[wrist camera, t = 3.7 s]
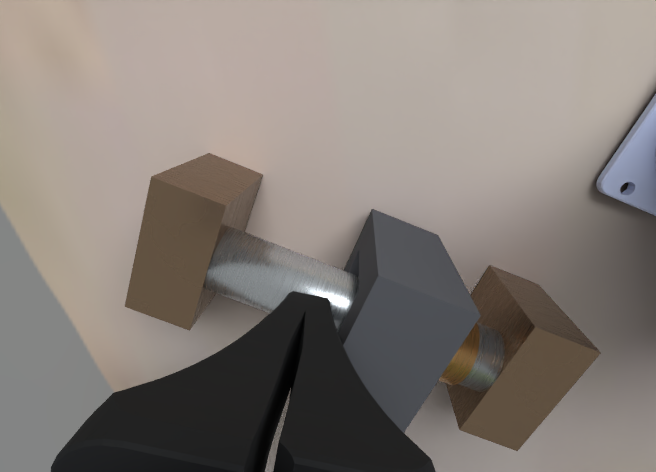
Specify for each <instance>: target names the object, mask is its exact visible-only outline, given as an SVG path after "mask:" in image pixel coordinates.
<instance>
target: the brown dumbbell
mask: <svg viewBox="0 0 656 472" xmlns="http://www.w3.org/2000/svg"><path fill="white" fill-rule="evenodd" d="M262 176H263V175H262V174H260V173H257V172H255V171H252V170H250V169H247V168H245V167H242V166H240V165H237V164H235V163H232V162H230V161H227V160H225V159H222V158H220V157H217V156H215V155H212V154H210V153H208V154H206V155H203V156H201V157H198V158H196V159H193V160H191V161H189V162H186V163H184V164H181V165H179V166H176V167H174V168H171V169H169V170H166V171H164V172H162V173H159V174H157V175H154V176H152V177H151V181H150V186H149V190H148V195H147V200H146V205H145V210H144V215H143V220H142V225H141V230H140V235H139V240H138V245H137V249H136V254H135V259H134V264H133V269H132V274H131V279H130V284H129V289H128V294H127V299H126V304H125V307H127V308H130V309H133V310H136V311H138V312H141V313H144V314H146V315H149V316H152V317H155V318H157V319H160V320H163V321H165V322H168V323H171V324H174V325H176V326H179V327H182V328H184V329H187V330H190V329H191V328H192V326H193V325H194V324H195V322H196V321H197V319H198V318H199V317H200V315H201V314H202V312H203V311H204V310H205V308H206V307H207V305H208V304H209V303H210V301H211V300H212V299H213V297H214V296H215V294H216V293H217V294H220V295H223V296H225V297H228V298H231V299H233V300H236V301H239V302H241V303H244V304H247V305H249V306H252V307H254V308H257V309H260V310H262V311H265V312H268V313H271V312H272V311H273V310H274V309H275V308H276V307H277V306H278V305H279V304H280V303H281V302H282V301H283V300H284V299H285V298H286V296H287V295H288V294H289V293H290V292H292V291H295V292H300V293H305V294H310V295H315V296H320V297H325V298H328V299H329V301H330V305H331V311H332V315H333V319H334V322H335V325H336V328H337V331H338V332H339V330H340V328H341V326H342V324H343V322H344V320H345V318H346V316H347V314H348V312H349V310H350V308H351V306H352V304H353V302H354V300H355V298H356V296H357V294H358V291H359V276H357V275H354V274H352V273H349V272H346V271H344V270H341V269H339V268H336V267H333V266H331V265H328V264H326V263H323V262H321V261H318V260H315V259H313V258H310V257H308V256H305V255H303V254H300V253H297V252H295V251H292V250H290V249H287V248H285V247H282V246H279V245H277V244H274V243H272V242H269V241H267V240H264V239H261V238H259V237H256V236H254V235H251V234H249V233H246V232H245V229H246V226H247V222H248V219H249V216H250V213H251V210H252V207H253V204H254V201H255V198H256V195H257V192H258V188H259V185H260V182H261V179H262ZM471 298H472V300H473V302H474V304H475V305H476V307H477V309H478V311H479V313H480V315H481V316H480V318H479V319H478V321H477V322H476V324H475V325H474V327H473V328H472V330H471V331H470V333H469V334H468V336H467V337H466V339H465V340H464V342H463V343H462V345H461V346H460V348H459V350H458V351H457V353H456V354H455V356H454V357H453V359H452V360H451V362H450V363H449V365H448V366H447V368H446V369H445V371H444V372H443V374H442V375H441V377H440V378H439V381H442V382H444V383H446V385H447V388H448V392H449V395H450V399H451V402H452V406H453V409H454V413H455V416H456V419H457V423H458V426H459V430H461V431H464V432H467V433H469V434H472V435H475V436H478V437H480V438H483V439H486V440H488V441H491V442H494V443H497V444H499V445H502V446H505V447H507V448H510V449H513V450H516V451H518V450H519V448H520V447H521V446H522V445H523V444H524V443H525V441H526V440H527V439H528V438H529V437H530V436H531V434H532V433H533V432H534V431H535V430H536V428H537V427H538V426H539V425H540V424H541V423H542V421H543V420H544V419H545V418H546V417H547V416H548V414H549V413H550V412H551V411H552V410H553V408H554V407H555V406H556V405H557V404H558V403H559V401H560V400H561V399H562V398H563V397H564V396H565V394H566V393H567V392H568V391H569V390H570V388H571V387H572V386H573V385H574V384H575V383H576V381H577V380H578V379H579V378H580V377H581V376H582V374H583V373H584V372H585V371H586V370H587V368H588V367H589V366H590V365H591V364H592V363H593V361H594V360H595V359H596V358H597V357H598V356H599V354H600V353H601V352H600V351H599V350H598V349H597V348H596V347H595V346H594V345H593V344H592V343H591V342H590V340H589V339H588V338H587V337H586V336H585V335H584V334H583V333H582V332H581V331H580V330H579V328H578V327H577V326H576V325H575V324H574V323H573V322H572V321H571V320H570V319H569V318H568V316H567V315H566V314H565V313H564V312H563V311H562V310H561V309H560V308H559V307H558V306H557V304H556V303H555V302H554V301H553V300H552V299H551V298H550V297H549V296H548V295H547V294H546V292H545V291H544V290H543V289H542V288H541V287H540V286H539V285H538V284H535V283H533V282H530V281H528V280H525V279H523V278H520V277H518V276H515V275H513V274H510V273H508V272H505V271H503V270H500V269H498V268H495V267H493V266H489V267H488V269H487V270H486V272H485V273H484V275H483V277H482V278H481V280H480V281H479V283H478V285H477V286H476V288H475V289H474V291H473V293H472V294H471Z"/></svg>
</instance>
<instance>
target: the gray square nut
mask: <svg viewBox="0 0 656 472" xmlns="http://www.w3.org/2000/svg"><path fill="white" fill-rule="evenodd" d="M344 271H346V272H349V273H352V274H354V275H357V276H359V291H358V294H357V296H356V298H355V300H354V302H353V304H352V306H351V308H350V310H349V312H348V314H347V316H346V318H345V320H344V322H343V324H342V326H341V328H340V330H339V332H338V334H339V336H340V339H341V342H342V344H343V346H344V349H345V351H346V353H347V355H348V357H349V359H350V361H351V363H352V365H353V367H354V369H355V370H356V372H357V374H358V375H359V377H360V379H361V380H362V382H363V384H364V385H365V387H366V388H367V390H368V391H369V393H370V394H371V395H372V397H373V398H374V399H375V401H376V402H377V403H378V404H379V406H380V407H381V408H382V410H383V411H384V412H385V413H386V415H387V416H388V417H389V418H390V419H391V420H392V421H393V422H394V423H395V424H396V426H397V427H398V428H399V429H400V430H401V431H402V432H403V433H404V432H405V430H406V429H407V427H408V426H409V424H410V423H411V421H412V419H413V418H414V416H415V415H416V413H417V412H418V410H419V409H420V407H421V406H422V404H423V403H424V401H425V400H426V398H427V397H428V395H429V394H430V392H431V391H432V389H433V388H434V386H435V384H436V383H437V381H438V380H439V378H440V377H441V375H442V374H443V372H444V371H445V369H446V368H447V366H448V365H449V363H450V362H451V360H452V359H453V357H454V356H455V354H456V353H457V351H458V350H459V348H460V346H461V345H462V343H463V342H464V340H465V339H466V337H467V336H468V334H469V333H470V331H471V330H472V328H473V327H474V325H475V324H476V322H477V321H478V319H479V318H480V316H481V315H480V313H479V311H478V309H477V307H476V305H475V304H474V302H473V300H472V298H471V296H470V294H469V292H468V290H467V289H466V287H465V285H464V283H463V281H462V279H461V277H460V275H459V274H458V272H457V270H456V268H455V266H454V264H453V262H452V260H451V259H450V257H449V255H448V253H447V251H446V249H445V247H444V245H443V244H442V242H441V240H440V238H439V236H438V235H436V234H434V233H431V232H429V231H426V230H424V229H421V228H419V227H416V226H414V225H411V224H409V223H406V222H404V221H401V220H399V219H396V218H394V217H391V216H389V215H386V214H384V213H381V212H379V211H376V210H374V209H372V210H371V212H370V215H369V217H368V219H367V221H366V223H365V226H364V228H363V230H362V232H361V234H360V236H359V239H358V241H357V243H356V245H355V247H354V250H353V252H352V254H351V256H350V258H349V260H348V263H347V265H346V267H345V269H344Z"/></svg>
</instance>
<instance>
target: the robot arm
mask: <svg viewBox="0 0 656 472" xmlns="http://www.w3.org/2000/svg"><path fill="white" fill-rule="evenodd" d="M626 182H628V187H627V189H626V190H625V191H624V192H621V193H620V188H621V186H622V185H623V184H624V183H626ZM596 187H597V189H598V191H600V192H601V193H603V194H605V195H607V196H610V197H612V198H615V199H617V200H619V201H622V202H624V203H627V204H629V205H631V206H634V207H636V208H638V209H641V210H643V211H646V212H648V213H650V214H653V215H655V216H656V94H655V96H654V97H653V99H652V100H651V102H650V103H649V104H648V106H647V107H646V109H645V110H644V112H643V113H642V115H641V116H640V118H639V119H638V120H637V122H636V123H635V125H634V126H633V128H632V129H631V131H630V132H629V134H628V135H627V137H626V138H625V139H624V141H623V142H622V144H621V145H620V147H619V148H618V150H617V151H616V153H615V154H614V155H613V157H612V158H611V160H610V161H609V163H608V164H607V166H606V167H605V169H604V170H603V171H602V173H601V174H600V176H599V178H598V180H597V186H596ZM290 388H291V393H290V401H289V406H288V410H287V413H286V417H285V421H284V425H283V429H282V432H281V436H280V440H279V444H278V450H277V455H276V460H275V466H274V471H273V472H435V469H434V466H433V463H432V460H431V459H430V458H429V457H428V456H427V455H426V454H425V453H424V452H423V451H422V450H421V449H420V448H419V447H418V446H417V445H416V444H415V443H414V442H412V441H411V440H410V439H409V438H408V437H407V436H406V435H405V434H404V433H403V432H402V431H401V430H400V429H399V428H398V427H397V426H396V424H395V423H394V422H393V421H392V420H391V419H390V418H389V417H388V416H387V415H386V413H385V412H384V411H383V410H382V408H381V407H380V406H379V404H378V403H377V402H376V401H375V399H374V398H373V397H372V395H371V394H370V393H369V391H368V390H367V388H366V387H365V385H364V384H363V382H362V380H361V379H360V377H359V375H358V374H357V372H356V370H355V369H354V367H353V365H352V363H351V361H350V359H349V357H348V355H347V353H346V351H345V349H344V346H343V344H342V342H341V339H340V336H339V334H338V331H337V328H336V325H335V322H334V319H333V315H332V311H331V305H330V301H329V299H328V298H325V297H320V296H315V295H310V294H305V293H300V292H295V291H292V292H290V293H289V294H288V295H287V296H286V298H285V299H284V300H283V301H282V302H281V303H280V304H279V305H278V306H277V307H276V308H275V309H274V310H273V311H272V312H271V313H270V314H269V315H268V316H267V317H266V318H264V319H263V320H262V321H261V322H260V323H259V324H257V325H256V326H255V327H254V328H252V329H251V330H250V331H249V332H247V333H246V334H245V335H243V336H242V337H241V338H239V339H238V340H236V341H235V342H233V343H232V344H230V345H229V346H227V347H226V348H224V349H222V350H221V351H219V352H217V353H215V354H214V355H212V356H210V357H208V358H206V359H204V360H202V361H200V362H198V363H196V364H194V365H192V366H190V367H188V368H185V369H183V370H181V371H178V372H176V373H173V374H171V375H168V376H165V377H163V378H160V379H157V380H154V381H151V382H148V383H145V384H142V385H139V386H135V387H132V388H129V389H126V390H122V391H119V392H115V393H113V394H112V395H111V396H110V397H109V398H108V399H107V400H106V401H105V402H104V403H103V404H102V405H101V406H100V407H99V408H98V409H97V410H96V411H95V412H94V413H93V414H92V415H91V416H90V417H89V418H88V419H87V420H86V421H85V423H84V424H83V425H82V426H81V427H80V429H79V430H78V431H77V432H76V434H75V435H74V436H73V437H72V438H71V439H70V441H69V442H68V443H67V444H66V445H65V447H64V448H63V449H62V450H61V451H60V453H59V454H58V455H57V457H56V459H55V461H54V463H53V464H52V466H51V472H265V468H266V464H267V459H268V455H269V451H270V448H271V445H272V441H273V438H274V435H275V432H276V429H277V426H278V423H279V420H280V417H281V414H282V411H283V408H284V405H285V403H286V400H287V397H288V394H289V391H290Z"/></svg>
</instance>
